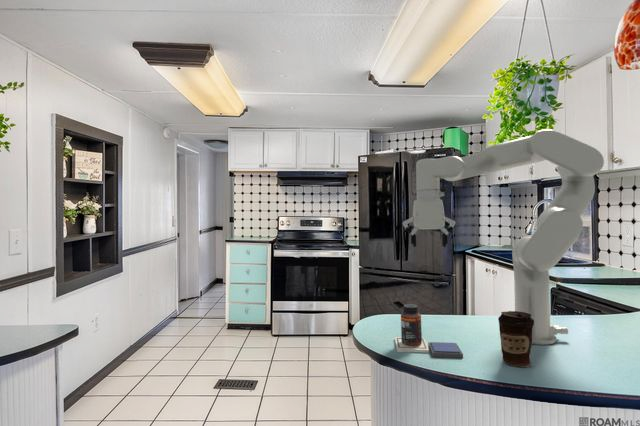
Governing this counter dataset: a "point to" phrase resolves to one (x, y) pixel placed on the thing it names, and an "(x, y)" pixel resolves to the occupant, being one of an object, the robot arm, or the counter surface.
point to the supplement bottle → (411, 326)
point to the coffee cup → (516, 337)
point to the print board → (405, 348)
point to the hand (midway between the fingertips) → (429, 246)
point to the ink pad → (445, 350)
